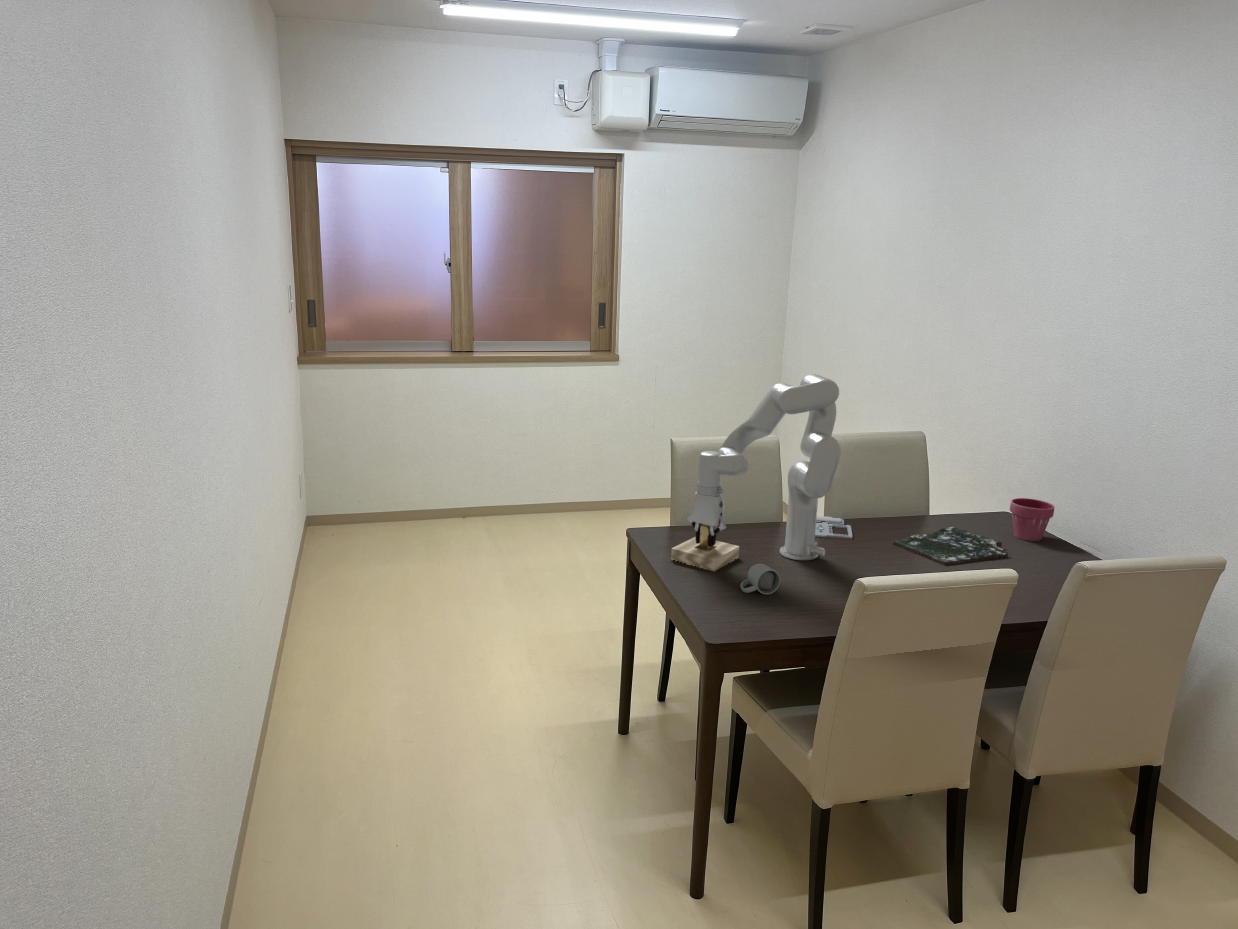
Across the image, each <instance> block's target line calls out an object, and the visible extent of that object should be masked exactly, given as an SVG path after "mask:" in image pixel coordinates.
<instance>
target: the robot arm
mask: <svg viewBox="0 0 1238 929" xmlns="http://www.w3.org/2000/svg"><path fill="white" fill-rule="evenodd" d="M839 397H840V389H839V386H838V384H837V383H836V382H835V381H833V379H830V378H827V377H825V376H822V375H818V374H816V373H810V374H806V375H804V377H802V378H801V381H800V385H798V386H793V385H791V384H789V383H786V382H785V383H784V382H778V383H776V384H773V385H772V387H771V388H770V389H769V390H768V392H767V393H766V394H765V396H764V397H763V399H762V400H761V401H760V403H759V404H758V405H757V407H756V408H755V410H753V412H752V414H751V415H750V416H749V417H748V419H747V420H745V421H743V423H741V424H740V425H739V426H737V427H736V428H735V429H734V430H733V431H732V432H730V434H729V435H728V436H727V437H726V439H725V440H724V441H723V443H722V444H721V446H720V447H719V449H718V450H717V451H715V450H704V451H701V452H700V453H699V455H698V460H697V462H698V463H697V482H696V491H695V492H694V495H693V499H692V504H691V513H690V515H688V517H687V521H688V522H689V523H690V524H691V525H692V528H694V532H695V537H696V543H697V544H698V543H699V537H700V525H701V524H704V525H708V526H710V533H711V535H709V543H708V546H709V547H711V546H713V545H715V543H716V541H717V534H718V533H719V532H721V531H723V530H725V529H726V528H727V525H726V523H725V503H724V497H723V494H724V492H725V490H724V489H722V476H727V477H735V478H737V477H741V476H743V475H745V474H746V473H747V472H748V469H749V462H748V459H747V458H746V456H744V454H743V453H744V451H745V450H746V449H747V448H748V447H749V445H751V444H752V443H753V442H755V441H757V440H759V439H763V438H766V437H768V436H770V435H771V434H772V433H773V432H774V430H775V428H776V427H777V426H778V425H779V423H780V422H781V421H782V420H783V418H784V416H785V415H786V414H788V415H797V414H803V413H807V412H808V417H807V422H806V425H805V429H804V432H803V435H802V438H801V442H800V451H801V453H802V455H804V456H805V457H807V458H808V459H809V461H808V460H800V461H799V460H798V461H796V462H795V463H793V464H792V465H791V466H790V468H789V470H788V473H787V487H788V488H787V489H788V502H787V514H786V525H785V526H786V528H785V539H784V545H782V546H781V547H780V548H779V554H780V555H781V556H783V557H785V558H787V559H791V560H795V561H811V560H812V561H813V560H815V559H817V558H818V557H819V556H821V557H824V556H825V555H826V550H825V548H824V547H820V546H818V542H817V541H815V539H816V537H815V529H816V518H817V516H818V504H819V500H818V499H821V498H824V497H825V496H826V495H827V494H828V493H829V492H830V490H831V488H832V485H833V483H834V481H835V480H834V479H835V476H836V474H837V470H838V466H839V465H840V464H839V463H840V460H841V455H842V453H841V452H842V451H841V445H840V442H839V441H838V440H837V439H836V438H835V437H833V436H832V435H833V431H834V428H835V422H836V419H837V406H836V402H837V400H838V398H839ZM718 525H719V526H718Z"/></svg>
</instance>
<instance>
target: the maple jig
mask: <svg viewBox="0 0 1238 929" xmlns="http://www.w3.org/2000/svg"><path fill="white" fill-rule="evenodd" d="M670 553H671V554H670V555H671V557H670V560H671V561H673V560H675V561H674V562H677V561H679V562H678V563H680V562H682V563H681V564H684V563H686V564H685V565H689V566H691V565H692V567H695V566H696V568H699V569H702V568H703V569H702V570H707V571H710V572H717V571H718V570H719V569H722V568H723V567H725V566H727V565H729V564H730V563H732V562H734V561H736V560H738V559H740V558H739V555H740V546H739V545H736V544H732V543H728V542H723V541H719V540H716V543H715V545H713V546H711V550H710V551H705V550H701V549H699V543H698V544H697V543H696V536H694V537H692V538H690V539H688V540H685V541H684V542H681V543H679V544H678V545H676V546H674V547H671V552H670ZM735 559H736V560H735ZM728 563H729V564H728Z"/></svg>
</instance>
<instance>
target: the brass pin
mask: <svg viewBox="0 0 1238 929" xmlns="http://www.w3.org/2000/svg"><path fill="white" fill-rule="evenodd" d="M709 535H711V533H710V526H708V525H704V524H701V525H700V537H699V549H701V550H705V551H710V550H711V547H709V546H708V543H709Z"/></svg>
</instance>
